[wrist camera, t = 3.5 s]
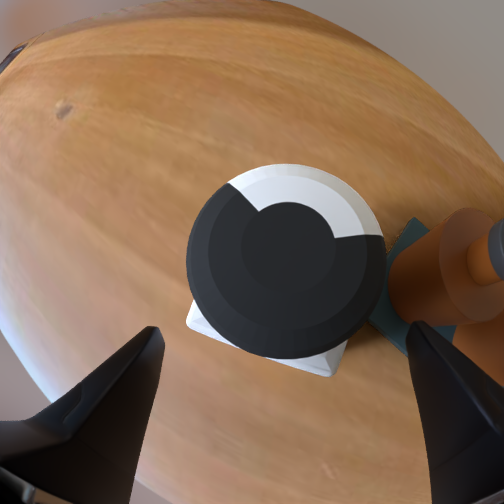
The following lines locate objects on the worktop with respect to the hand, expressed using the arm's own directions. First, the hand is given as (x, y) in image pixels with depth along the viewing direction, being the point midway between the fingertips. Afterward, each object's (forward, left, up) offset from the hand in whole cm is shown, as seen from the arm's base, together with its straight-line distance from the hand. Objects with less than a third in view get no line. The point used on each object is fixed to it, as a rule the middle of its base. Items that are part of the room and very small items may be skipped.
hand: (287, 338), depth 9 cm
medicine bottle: (+2, +2, -10) cm, 10 cm away
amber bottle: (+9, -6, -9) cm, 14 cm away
